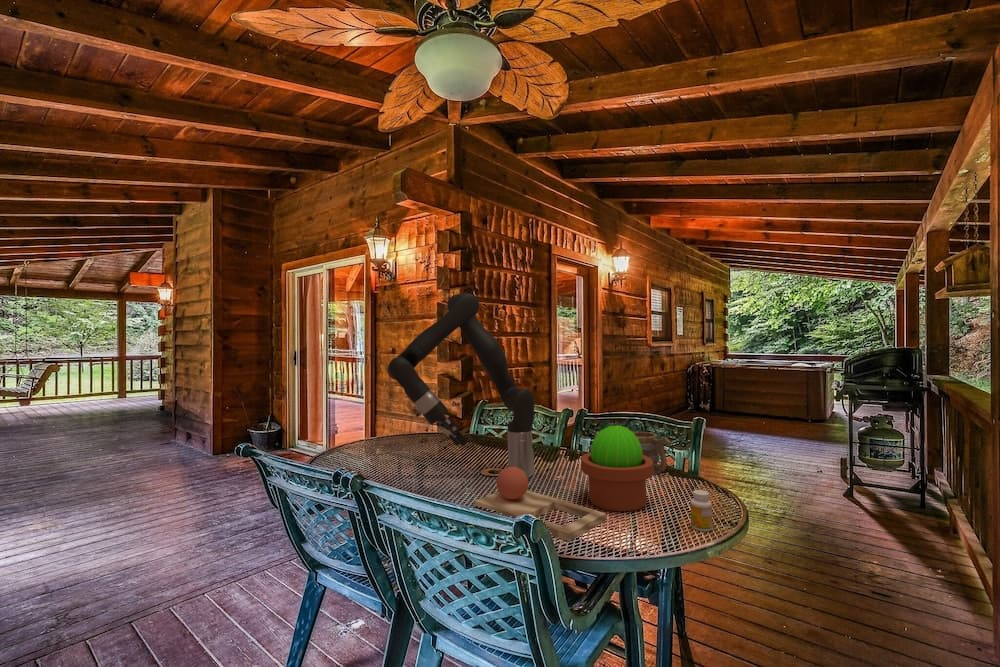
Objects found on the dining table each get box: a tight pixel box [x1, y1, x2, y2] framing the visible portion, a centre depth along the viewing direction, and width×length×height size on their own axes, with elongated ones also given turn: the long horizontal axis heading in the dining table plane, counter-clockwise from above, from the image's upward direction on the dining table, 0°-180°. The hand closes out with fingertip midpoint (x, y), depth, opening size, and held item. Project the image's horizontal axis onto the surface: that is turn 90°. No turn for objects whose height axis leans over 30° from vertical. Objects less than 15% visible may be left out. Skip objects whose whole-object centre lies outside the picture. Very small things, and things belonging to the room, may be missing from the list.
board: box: [474, 489, 607, 542], centre depth 139 cm, size 18×36×2 cm, turn 46°
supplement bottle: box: [690, 489, 713, 532], centre depth 127 cm, size 5×5×10 cm
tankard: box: [632, 431, 672, 476], centre depth 176 cm, size 20×13×15 cm, turn 23°
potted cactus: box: [580, 423, 654, 512], centre depth 147 cm, size 22×22×25 cm
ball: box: [496, 466, 529, 500], centre depth 146 cm, size 10×10×10 cm
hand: (462, 444), depth 154 cm, fingers open, 8 cm apart
